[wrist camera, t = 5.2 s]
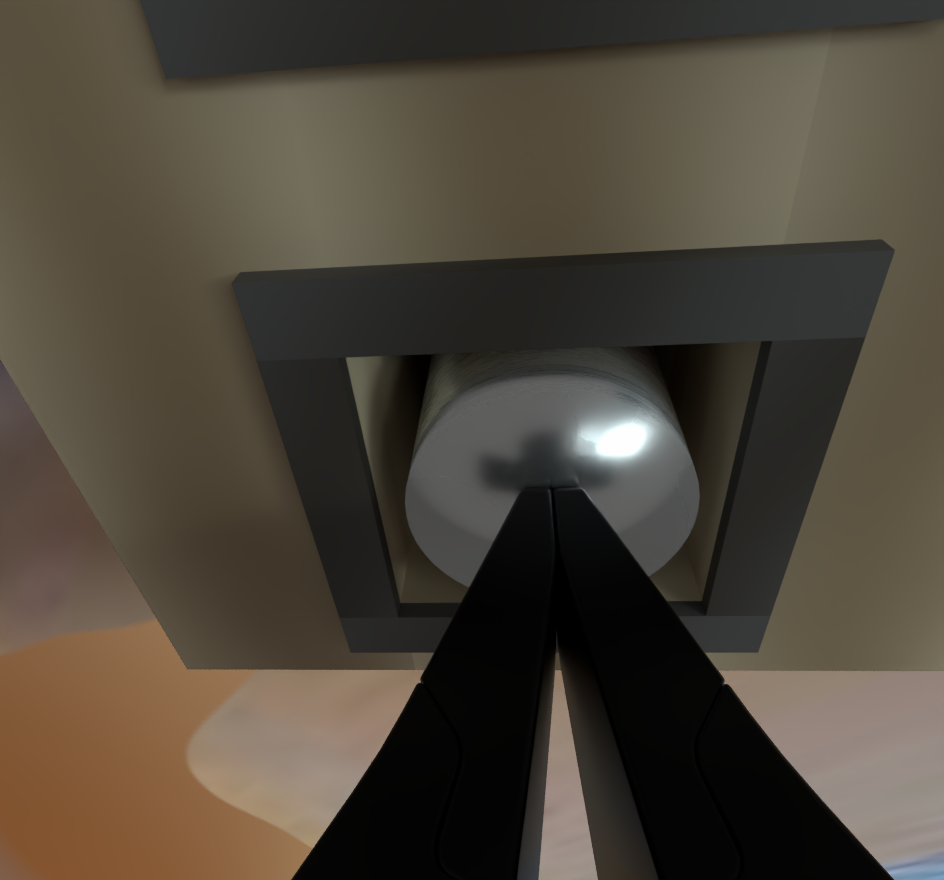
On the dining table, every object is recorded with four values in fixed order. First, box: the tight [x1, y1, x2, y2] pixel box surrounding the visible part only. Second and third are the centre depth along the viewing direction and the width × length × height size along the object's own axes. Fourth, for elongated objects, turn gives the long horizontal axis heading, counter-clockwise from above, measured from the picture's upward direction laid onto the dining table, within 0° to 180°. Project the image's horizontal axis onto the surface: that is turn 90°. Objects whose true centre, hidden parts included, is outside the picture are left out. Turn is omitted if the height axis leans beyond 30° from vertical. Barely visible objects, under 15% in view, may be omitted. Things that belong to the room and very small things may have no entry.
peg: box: [405, 346, 700, 587], centre depth 11 cm, size 4×4×6 cm
